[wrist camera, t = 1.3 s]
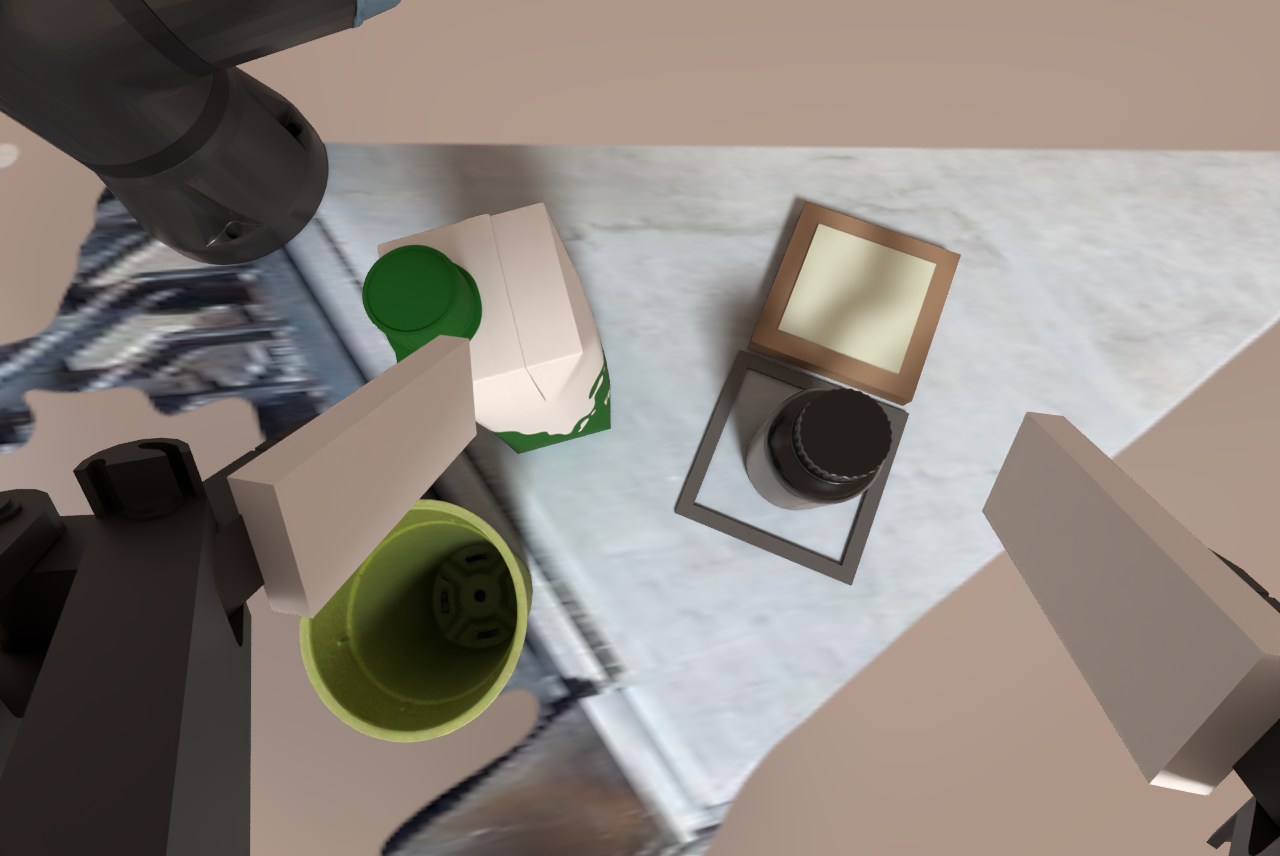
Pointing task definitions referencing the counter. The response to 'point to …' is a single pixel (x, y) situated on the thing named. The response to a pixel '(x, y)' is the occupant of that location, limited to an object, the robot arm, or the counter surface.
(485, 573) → the plant pot
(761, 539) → the ring
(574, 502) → the counter surface
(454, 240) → the milk carton
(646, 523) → the counter surface
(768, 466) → the supplement bottle
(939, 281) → the walnut board
